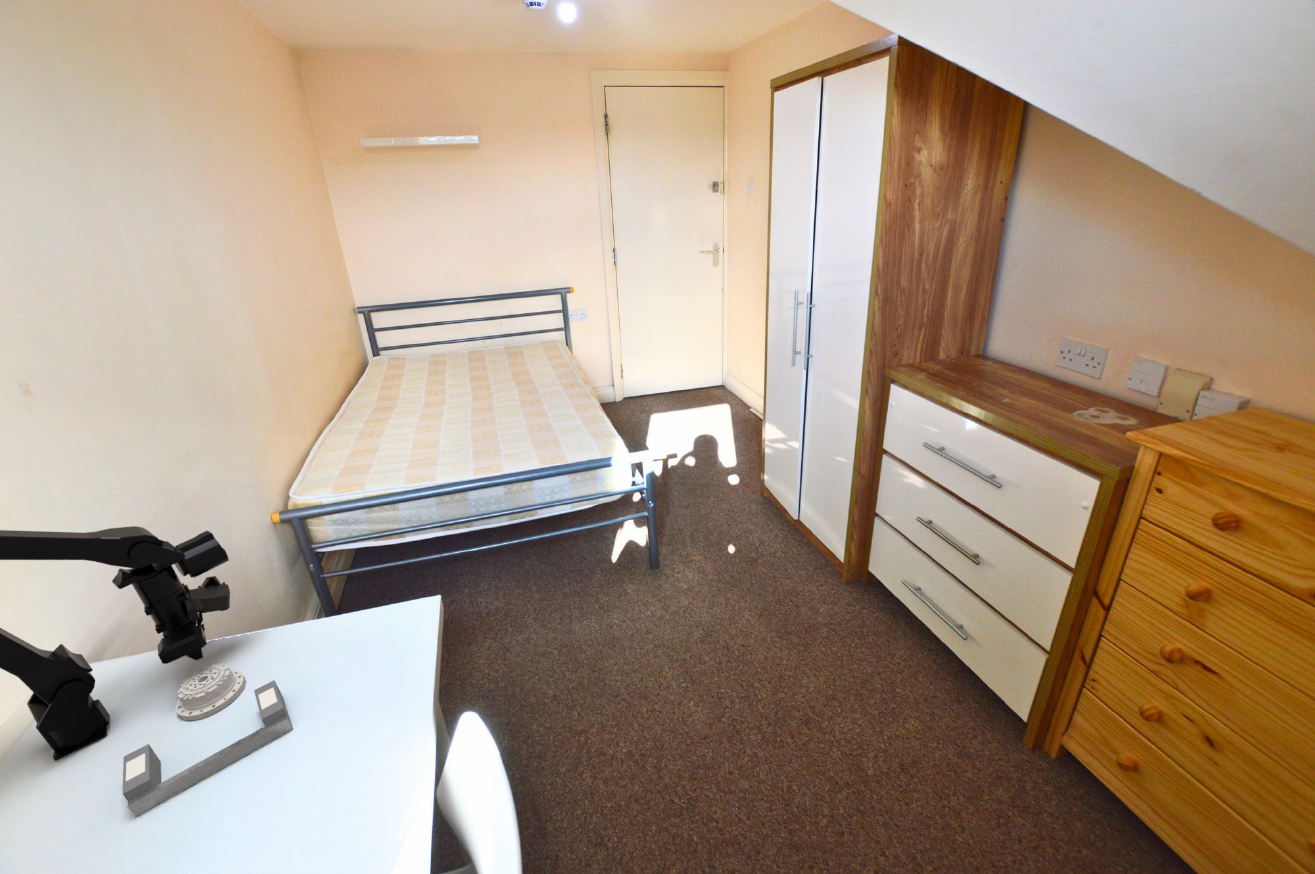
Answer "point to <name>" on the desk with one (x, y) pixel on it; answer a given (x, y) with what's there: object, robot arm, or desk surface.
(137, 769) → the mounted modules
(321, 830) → the desk surface
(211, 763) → the metal rail
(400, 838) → the desk surface
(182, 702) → the mechanical component
